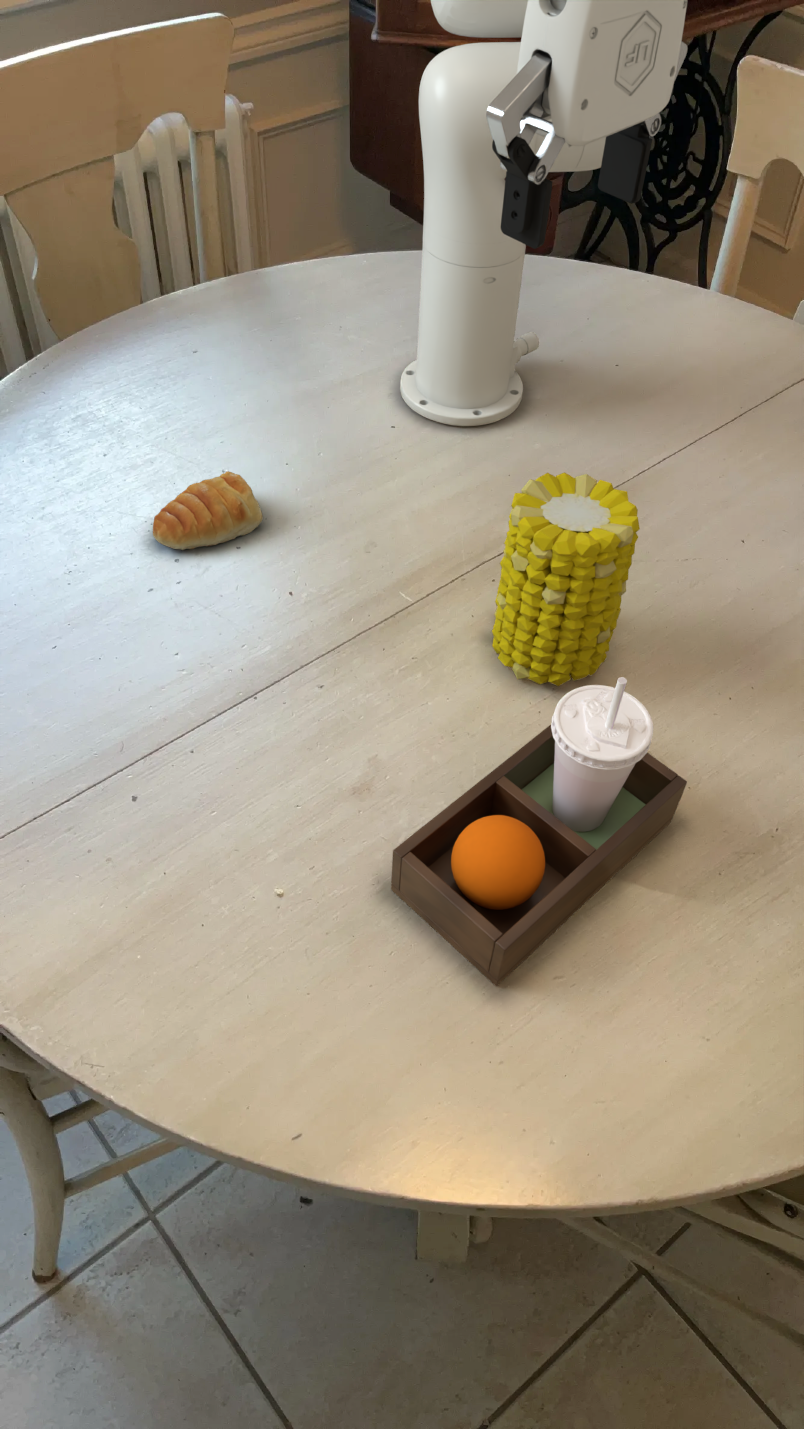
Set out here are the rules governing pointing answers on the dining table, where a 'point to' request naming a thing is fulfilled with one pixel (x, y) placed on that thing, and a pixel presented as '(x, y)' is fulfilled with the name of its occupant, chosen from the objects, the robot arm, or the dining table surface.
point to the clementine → (498, 862)
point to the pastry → (208, 513)
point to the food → (563, 577)
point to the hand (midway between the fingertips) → (571, 216)
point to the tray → (569, 855)
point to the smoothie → (595, 751)
